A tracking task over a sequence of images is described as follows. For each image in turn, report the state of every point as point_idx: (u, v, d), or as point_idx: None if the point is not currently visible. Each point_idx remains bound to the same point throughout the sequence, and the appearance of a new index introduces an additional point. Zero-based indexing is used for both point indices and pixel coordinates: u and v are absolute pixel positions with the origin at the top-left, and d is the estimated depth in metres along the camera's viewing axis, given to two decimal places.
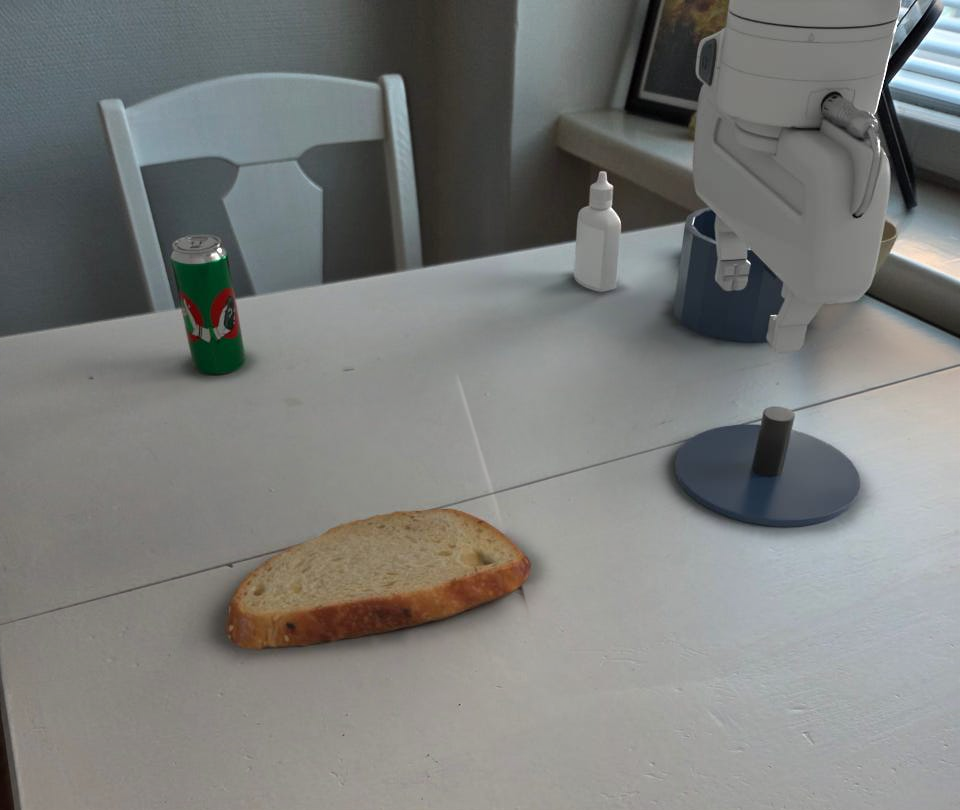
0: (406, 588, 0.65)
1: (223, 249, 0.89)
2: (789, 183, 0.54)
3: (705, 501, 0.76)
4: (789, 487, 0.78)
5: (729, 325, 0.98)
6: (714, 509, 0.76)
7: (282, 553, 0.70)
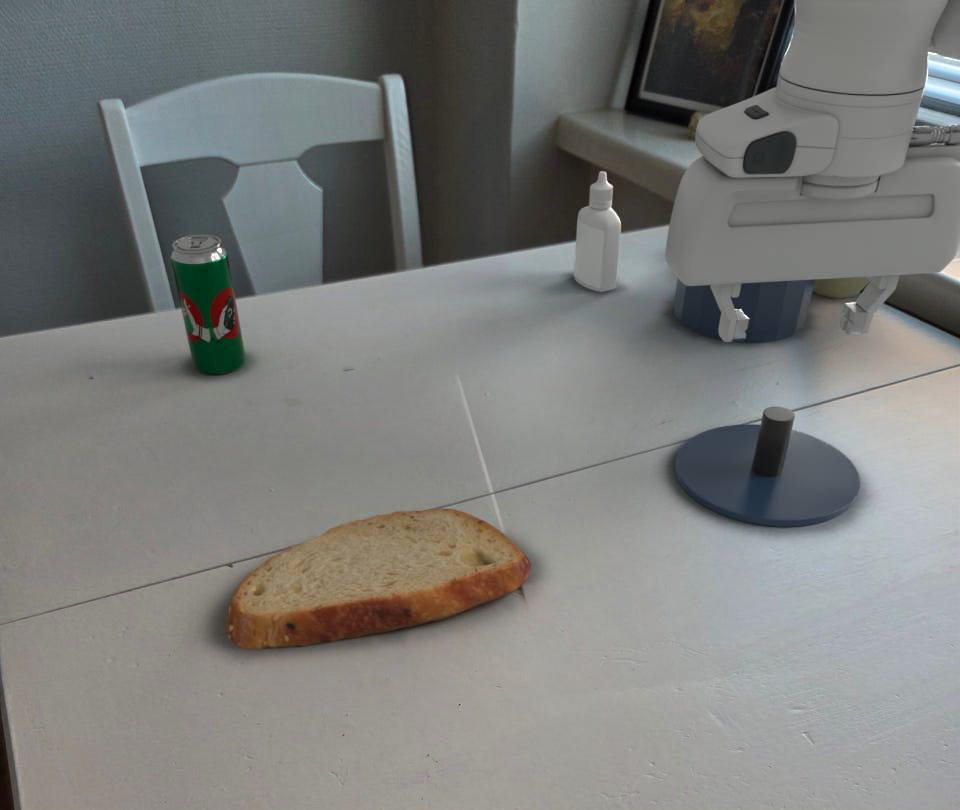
0: (406, 588, 0.65)
1: (223, 249, 0.89)
2: (897, 203, 0.65)
3: (705, 501, 0.76)
4: (789, 487, 0.78)
5: None
6: (714, 509, 0.76)
7: (282, 553, 0.70)
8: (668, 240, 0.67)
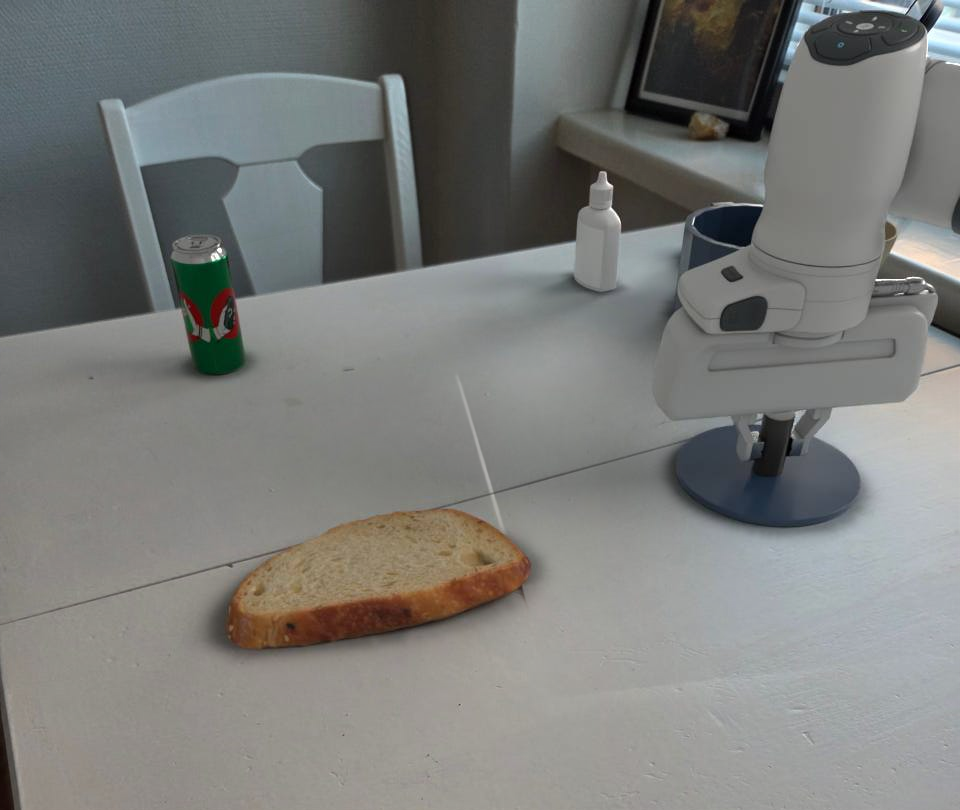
0: (406, 588, 0.65)
1: (223, 249, 0.89)
2: (861, 347, 0.72)
3: (705, 501, 0.76)
4: (789, 487, 0.78)
5: None
6: (714, 509, 0.76)
7: (282, 553, 0.70)
8: (655, 378, 0.74)
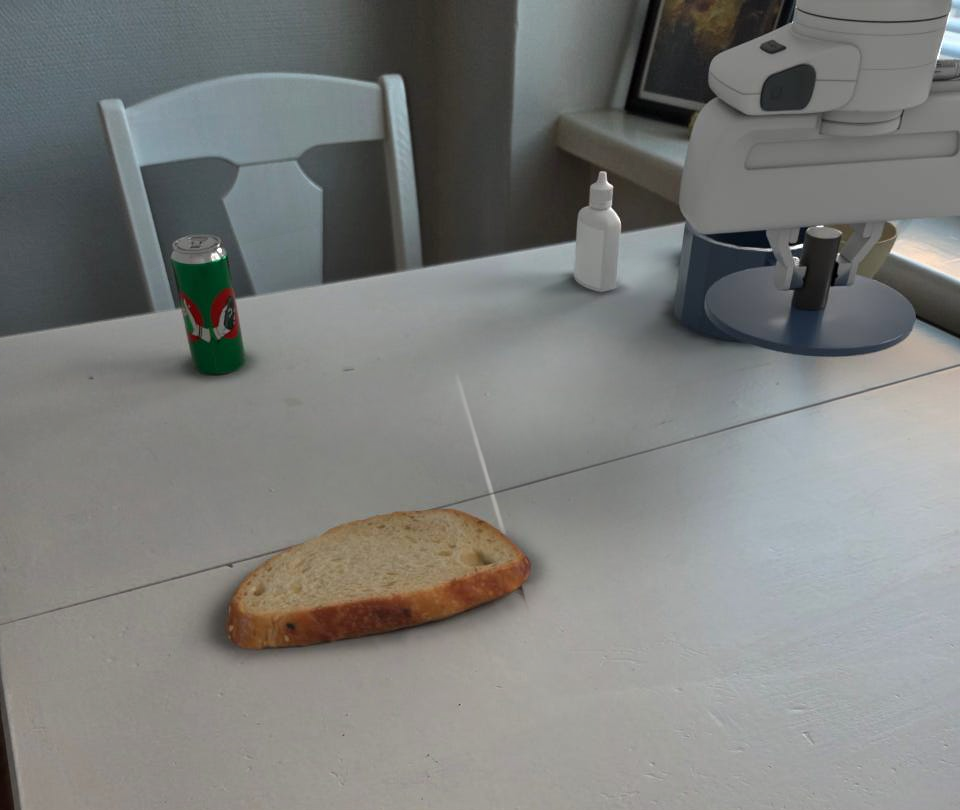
0: (406, 589, 0.65)
1: (223, 249, 0.89)
2: (920, 142, 0.63)
3: (740, 333, 0.67)
4: (835, 319, 0.68)
5: None
6: (751, 342, 0.67)
7: (282, 553, 0.70)
8: (682, 187, 0.65)
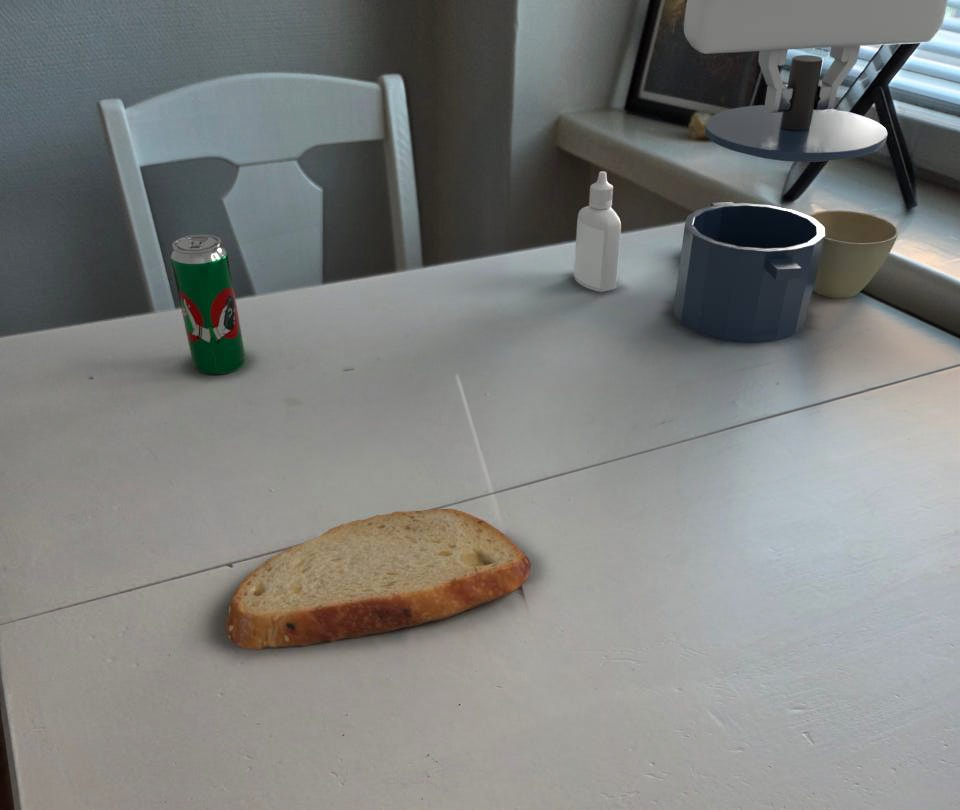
0: (406, 588, 0.65)
1: (223, 249, 0.89)
2: None
3: (737, 145, 0.78)
4: (818, 136, 0.79)
5: (729, 325, 0.98)
6: (746, 151, 0.78)
7: (282, 553, 0.70)
8: (686, 14, 0.76)
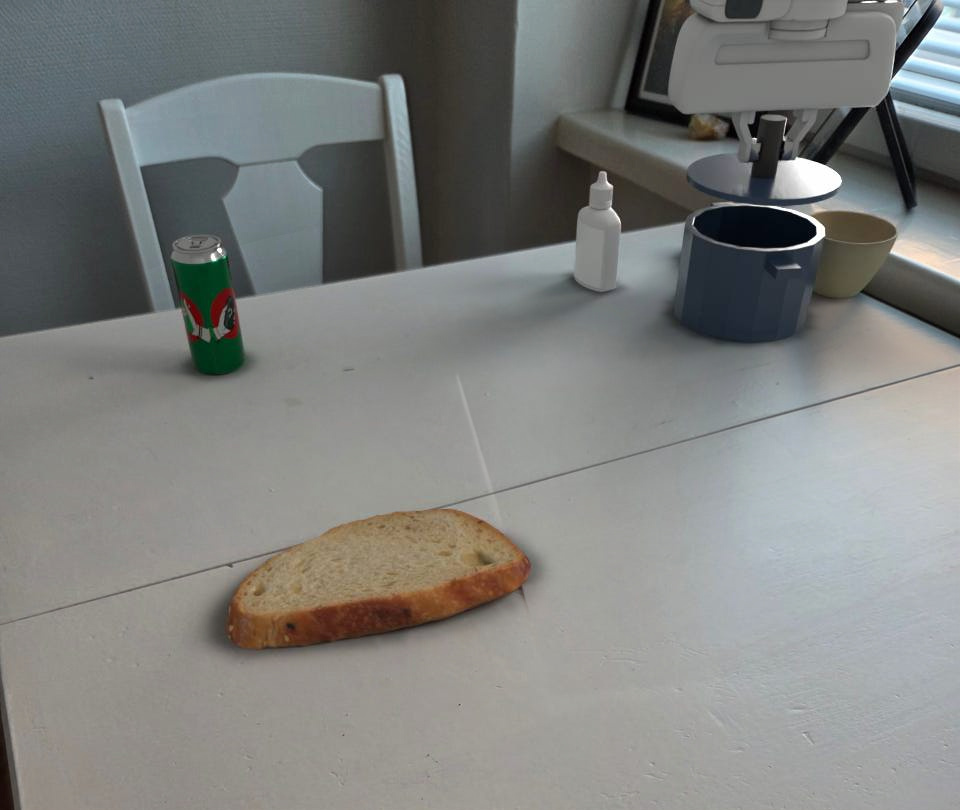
0: (406, 588, 0.65)
1: (223, 249, 0.89)
2: (841, 48, 0.87)
3: (712, 190, 0.92)
4: (782, 183, 0.93)
5: (729, 325, 0.98)
6: (719, 196, 0.91)
7: (282, 553, 0.70)
8: (670, 80, 0.89)
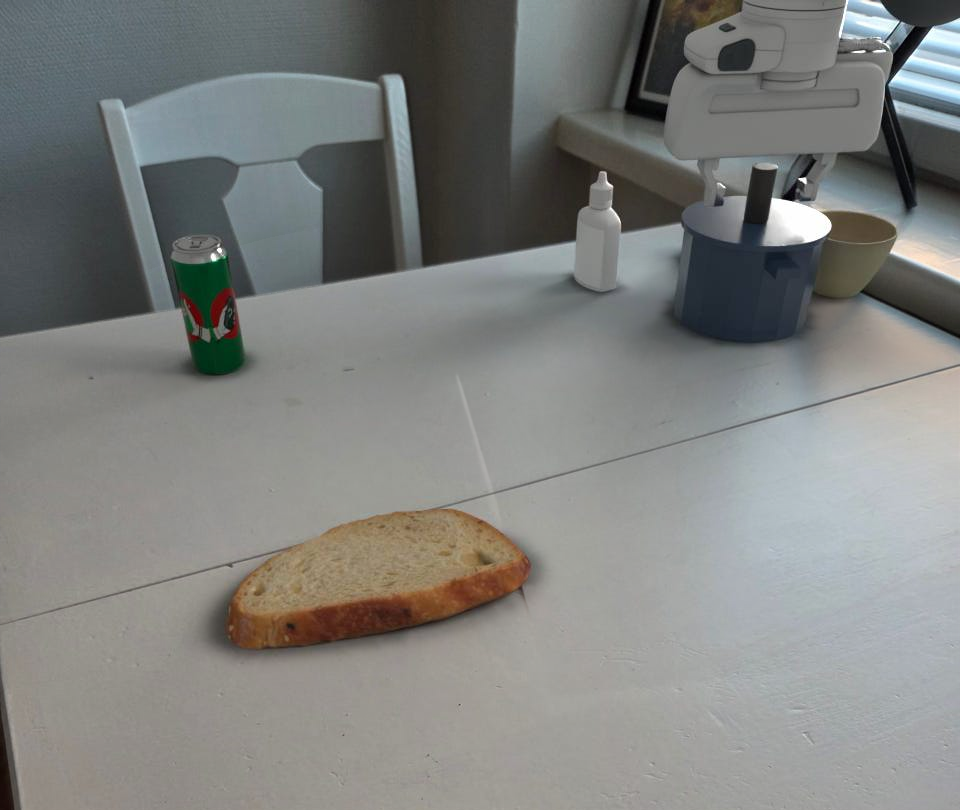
0: (406, 588, 0.65)
1: (223, 249, 0.89)
2: (831, 96, 0.90)
3: (705, 237, 0.94)
4: (773, 229, 0.96)
5: (729, 325, 0.98)
6: (712, 242, 0.94)
7: (282, 553, 0.70)
8: (665, 127, 0.92)
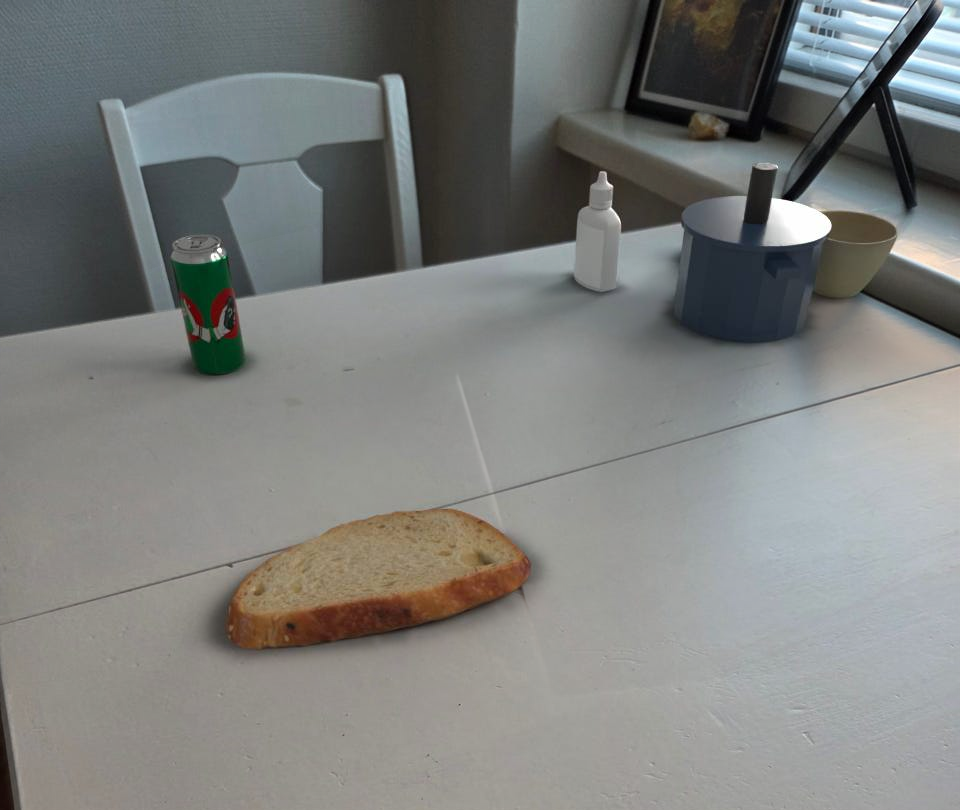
0: (406, 588, 0.65)
1: (223, 249, 0.89)
2: None
3: (705, 237, 0.94)
4: (773, 229, 0.96)
5: (729, 325, 0.98)
6: (712, 242, 0.94)
7: (282, 553, 0.70)
8: None
